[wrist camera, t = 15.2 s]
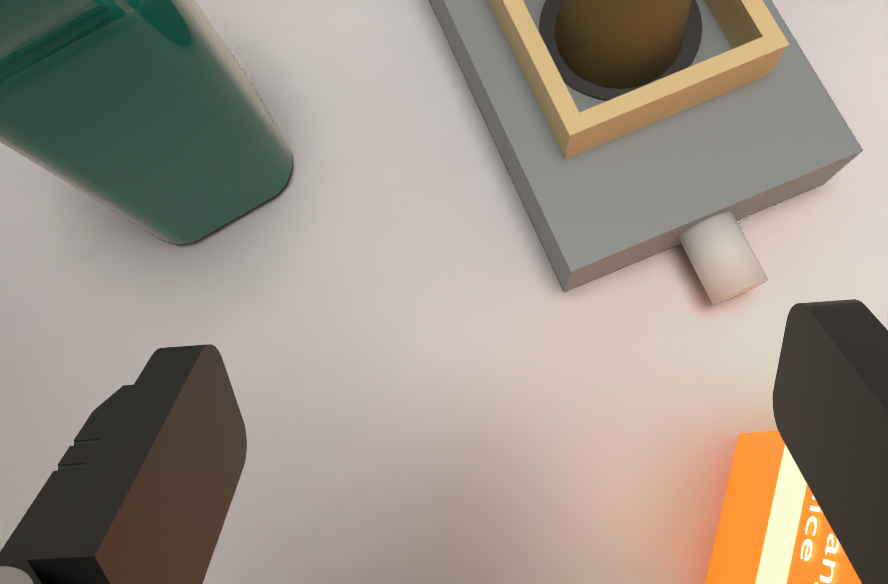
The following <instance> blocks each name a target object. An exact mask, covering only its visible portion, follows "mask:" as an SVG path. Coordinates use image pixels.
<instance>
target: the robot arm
mask: <svg viewBox="0 0 888 584" xmlns="http://www.w3.org/2000/svg"><path fill="white" fill-rule="evenodd" d="M773 410H774V417H775V421H776V425H777V428H778V431H779V434H780V436H781V438H782V440H783V441H784V443H785V445H786V447H787V449H788V451H789V452H790V454H791V456H792V458H793V460H794V461H795V463H796V465H797V467H798V469H799V471H800V472H801V474H802V476H803V478H804V480H805V481H806V483H807V485H808V487H809V489H810V490H811V492H812V494H813V496H814V498H815V500H816V501H817V503H818V505H819V507H820V509H821V510H822V512H823V514H824V516H825V518H826V520H827V521H828V523H829V525H830V527H831V529H832V530H833V532H834V534H835V536H836V538H837V540H838V541H839V543H840V545H841V547H842V549H843V550H844V552H845V554H846V556H847V558H848V560H849V561H850V563H851V565H852V567H853V569H854V570H855V572H856V574H857V576H858V578H859V580H860V581H861V583H862V584H888V330H887V329H886V328H885V327H884V326H883V325H882V324H881V322H880V321H879V320H878V319H877V318H876V317H875V316H874V315H873V314H872V312H871V311H870V310H869V309H868V308H867V307H866V306H865V305H864V304H863V303H862V302H860V301H859V300H855V299H853V300H839V301H826V302H812V303H798V304H795V305H794V306H793V307H792V308H791V310H790V312H789V314H788V318H787V322H786V327H785V333H784V338H783V343H782V348H781V353H780V359H779V364H778V369H777V374H776V379H775V385H774V390H773ZM246 449H247V440H246V430H245V425H244V422H243V419H242V416H241V413H240V410H239V407H238V404H237V401H236V398H235V395H234V392H233V389H232V386H231V383H230V380H229V377H228V374H227V372H226V369H225V366H224V363H223V360H222V357H221V355H220V353H219V351H218V349H217V348H216V347H215V346H214V345H211V344H210V345H196V346H182V347H169V348H159V349H157V350H156V351H155V352H154V353H153V355H152V356H151V358H150V359H149V361H148V363H147V364H146V366H145V367H144V369H143V371H142V372H141V374H140V376H139V377H138V379H137V380H136V382H135V384H134V385H125V386H122V387H121V388H120V389H119V390H118V391H116V392H115V393H114V394H113V395H112V396H110V397H109V398H108V399H107V400H106V401H105V402H103V403H102V404H101V405H100V406H99V407H97V408H96V409H95V410H94V411H93V412H92V413H91V415H90V416H89V418H88V420H87V421H86V423H85V424H84V426H83V427H82V429H81V430H80V432H79V433H78V435H77V436H76V438H75V439H74V446H70V447H69V448H68V450H67V451H66V453H65V454H64V456H63V457H62V459H61V460H60V462H59V464H58V471H53V473H52V474H51V476H50V477H49V479H48V480H47V482H46V483H45V485H44V486H43V488H42V489H41V491H40V492H39V494H38V495H37V497H36V498H35V500H34V501H33V503H32V504H31V506H30V508H29V509H28V511H27V512H26V514H25V515H24V517H23V518H22V520H21V521H20V523H19V524H18V526H17V527H16V529H15V530H14V532H13V533H12V535H11V536H10V538H9V539H8V541H7V542H6V544H5V545H4V547H3V548H2V550H1V552H0V584H202V583H203V580H204V578H205V575H206V572H207V569H208V566H209V563H210V561H211V558H212V555H213V552H214V549H215V546H216V544H217V541H218V538H219V535H220V532H221V530H222V527H223V524H224V521H225V518H226V515H227V513H228V510H229V507H230V504H231V501H232V498H233V496H234V493H235V490H236V487H237V484H238V481H239V479H240V476H241V473H242V470H243V467H244V463H245V458H246Z"/></svg>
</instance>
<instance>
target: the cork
mask: <svg viewBox="0 0 888 584" xmlns="http://www.w3.org/2000/svg"><path fill="white" fill-rule="evenodd" d="M691 2H692V0H562V3H561V6H560V9H559V12H558V15H557V19H556V26H555V34H554V35H555V39H556V43H557V48H558V52H559V54H560V55H561V57H562V58H563V60H564V61H565V63H566V64H567V66H568V68H570V69H571V70H572V71H573V72H575V73H576V74H577V75H578V76H580V77H581V78H582V79H583V80H586V81H588V82H591V83H593V84H596V85H598V86H601V87H607V88H617V89H626V88H631V87H636V86H642V85H645V84H647V83H648V82H650V81H652V80H654V79H656V78H658V77H660V76H662V75H663V74H664V73H665V72H666V71H667V70H668V69H669V68H670V67H671V66H672V65H673V64H674V62H675V61H676V59H677V57H678V55H679V52H680V50H681V48H682V46H683V42H684V37H685V32H686V27H687V22H688V17H689V12H690V7H691Z"/></svg>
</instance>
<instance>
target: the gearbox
mask: <svg viewBox="0 0 888 584" xmlns="http://www.w3.org/2000/svg"><path fill="white" fill-rule="evenodd" d="M429 1H430V3H431V6H432V8H433V10H434V12H435V14H436V16H437V19H438V21H439V23H440V25H441V27H442V29H443V32H444V34H445V36H446V38H447V40H448V42H449V45H450V47H451V49H452V51H453V53H454V55H455V58H456V60H457V62H458V64H459V66H460V68H461V70H462V73H463V75H464V77H465V79H466V81H467V83H468V86H469V88H470V90H471V92H472V94H473V96H474V99H475V101H476V103H477V105H478V107H479V109H480V112H481V114H482V116H483V118H484V120H485V122H486V125H487V127H488V129H489V131H490V133H491V135H492V138H493V140H494V142H495V144H496V146H497V148H498V150H499V153H500V155H501V157H502V159H503V161H504V163H505V166H506V168H507V170H508V172H509V174H510V176H511V179H512V181H513V183H514V185H515V187H516V189H517V192H518V194H519V196H520V198H521V200H522V202H523V205H524V207H525V209H526V211H527V213H528V215H529V218H530V220H531V222H532V224H533V226H534V228H535V230H536V233H537V235H538V237H539V239H540V241H541V243H542V246H543V248H544V250H545V252H546V254H547V256H548V259H549V261H550V263H551V265H552V267H553V269H554V272H555V274H556V276H557V278H558V280H559V282H560V285H561V287H562V289H563V291H564V292H565V291H568V290H570V289H573V288H575V287H577V286H580V285H582V284H585V283H587V282H589V281H592V280H594V279H597V278H599V277H601V276H604V275H606V274H609V273H611V272H613V271H616V270H618V269H621V268H623V267H626V266H628V265H630V264H633V263H635V262H638V261H640V260H642V259H645V258H647V257H650V256H652V255H654V254H657V253H659V252H662V251H664V250H666V249H669V248H671V247H674V246H676V245H678V244H682V246H683V248H684V250H685V252H686V254H687V255H688V257H689V259H690V261H691V263H692V265H693V267H694V269H695V271H696V273H697V275H698V277H699V279H700V281H701V283H702V284H703V286H704V288H705V290H706V292H707V294H708V296H709V298H710V300H711V302H712V304H718V303H720V302H723V301H726V300H728V299H731V298H733V297H735V296H738V295H740V294H742V293H744V292H747V291H749V290H751V289H753V288H755V287H757V286H759V285H761V284H763V283H764V282H766V281H767V280H768V278H767V276H766V274H765V273H764V271H763V269H762V267H761V265H760V263H759V262H758V260H757V258H756V256H755V254H754V252H753V250H752V249H751V247H750V245H749V243H748V241H747V239H746V238H745V236H744V234H743V232H742V230H741V228H740V227H739V225H738V223H737V221H736V220H739V219H741V218H743V217H746V216H748V215H751V214H753V213H755V212H758V211H760V210H763V209H765V208H767V207H770V206H772V205H775V204H777V203H779V202H782V201H784V200H787V199H789V198H792V197H794V196H796V195H799V194H801V193H804V192H806V191H808V190H811V189H813V188H816V187H818V186H820V185H823V184H824V183H825V182H827V181H828V180H829V179H830V178H831V177H833V176H834V175H835V174H836V173H837V172H838V171H840V170H841V169H842V168H843V167H844V166H845V165H847V164H848V163H849V162H850V161H851V160H852V159H854V158H855V157H856V156H857V155H858V154H859V153H861V152H862V151H863V150H862V148H861V146H860V145H859V143H858V141H857V140H856V138H855V136H854V135H853V133H852V132H851V130H850V128H849V127H848V125H847V123H846V122H845V120H844V118H843V117H842V115H841V114H840V112H839V110H838V109H837V107H836V105H835V104H834V102H833V100H832V99H831V97H830V96H829V94H828V92H827V91H826V89H825V87H824V86H823V84H822V82H821V81H820V79H819V78H818V76H817V74H816V73H815V71H814V69H813V68H812V66H811V64H810V63H809V61H808V60H807V58H806V56H805V55H804V53H803V51H802V50H801V48H800V47H799V45H798V43H797V42H796V40H795V38H794V37H793V35H792V33H791V32H790V30H789V29H788V27H787V25H786V24H785V22H784V20H783V19H782V17H781V15H780V14H779V12H778V11H777V9H776V7H775V6H774V4H773V2H772V1H771V0H692V2H691V7H690V12H689V17H688V22H687V27H686V32H685V37H684V42H683V46H682V48H681V50H680V52H679V55H678V57H677V59H676V61H675V62H674V64H673V65H672V66H671V67H670V68H669V69H668V70H667V71H666V72H665V73H664V74H663V75H662V76H660V77H658V78H656V79H654V80H652V81H650V82H648V83H647V84H645V85H642V86H636V87H631V88H626V89H617V88H607V87H601V86H598V85H596V84H593V83H591V82H588V81H586V80H583V79H582V78H581V77H580V76H578V75H577V74H576V73H575V72H573V71H572V70H571V69H570V68H568V66H567V64H566V63H565V61H564V60H563V58H562V57H561V55H560V54H559V52H558V48H557V43H556V39H555V35H554V34H555V26H556V19H557V15H558V12H559V9H560V6H561V3H562V0H429Z"/></svg>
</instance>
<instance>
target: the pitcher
mask: <svg viewBox="0 0 888 584" xmlns="http://www.w3.org/2000/svg"><path fill="white" fill-rule="evenodd" d="M0 142H2V143H3V144H5V145H6V146H8V147H10V148H11V149H13V150H15V151H16V152H18V153H20V154H21V155H23V156H24V157H26V158H28V159H29V160H31V161H33V162H34V163H36V164H38V165H39V166H41V167H43V168H44V169H46V170H47V171H49V172H51V173H52V174H54V175H56V176H57V177H59V178H61V179H62V180H64V181H65V182H67V183H69V184H70V185H72V186H74V187H75V188H77V189H79V190H80V191H82V192H84V193H85V194H87V195H88V196H90V197H92V198H93V199H95V200H97V201H98V202H100V203H102V204H103V205H105V206H107V207H108V208H110V209H111V210H113V211H115V212H116V213H118V214H120V215H121V216H123V217H125V218H126V219H128V220H129V221H131V222H133V223H134V224H136V225H138V226H139V227H141V228H143V229H144V230H146V231H148V232H149V233H151V234H152V235H154V236H156V237H157V238H159V239H161V240H162V241H165V242H170V243H174V244H178V245H179V244H186V243H192V242H196V241H198V240H199V239H201V238H203V237H205V236H206V235H208V234H210V233H211V232H213V231H215V230H217V229H218V228H220V227H222V226H224V225H225V224H227V223H229V222H231V221H232V220H234V219H236V218H237V217H239V216H241V215H243V214H244V213H246V212H248V211H250V210H251V209H253V208H255V207H257V206H258V205H260V204H262V203H263V202H265V201H267V200H269V199H270V198H272V197H274V196H276V195H277V194H278V193H279V192H280V191H281V190H282V188H283V187H284V186H285V185H286V184H287V182H288V178H289V175H290V172H291V169H292V157H291V151H290V149H289V148H288V146H287V144H286V142H285V141H284V139H283V137H282V135H281V133H280V132H279V130H278V128H277V126H276V125H275V123H274V121H273V119H272V118H271V116H270V114H269V112H268V111H267V109H266V107H265V105H264V104H263V102H262V100H261V98H260V97H259V95H258V93H257V91H256V90H255V88H254V86H253V84H252V83H251V81H250V79H249V78H248V76H247V75H246V74H245V72H244V71H243V69H242V68H241V66H240V65H239V64H238V62H237V61H236V59H235V58H234V56H233V55H232V53H231V52H230V51H229V49H228V48H227V46H226V45H225V43H224V42H223V40H222V39H221V38H220V36H219V35H218V33H217V32H216V30H215V29H214V28H213V26H212V25H211V23H210V22H209V20H208V19H207V17H206V16H205V15H204V13H203V12H202V10H201V9H200V7H199V6H198V4H197V3H196V2H195V0H0Z"/></svg>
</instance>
